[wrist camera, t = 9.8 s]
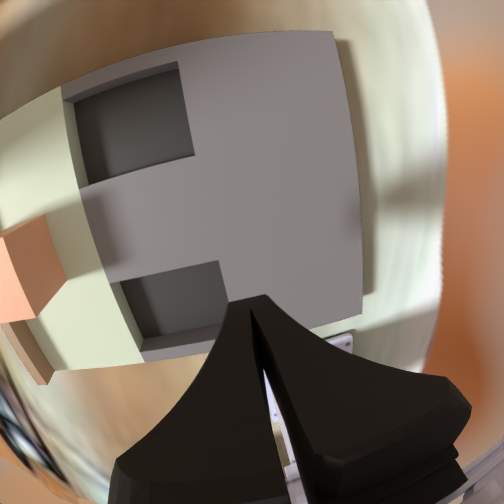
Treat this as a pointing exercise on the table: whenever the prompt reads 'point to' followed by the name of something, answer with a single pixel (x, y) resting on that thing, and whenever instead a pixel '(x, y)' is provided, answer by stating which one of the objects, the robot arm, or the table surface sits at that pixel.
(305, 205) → the platform
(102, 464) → the table surface
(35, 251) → the block
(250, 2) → the table surface
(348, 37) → the table surface
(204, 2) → the table surface
